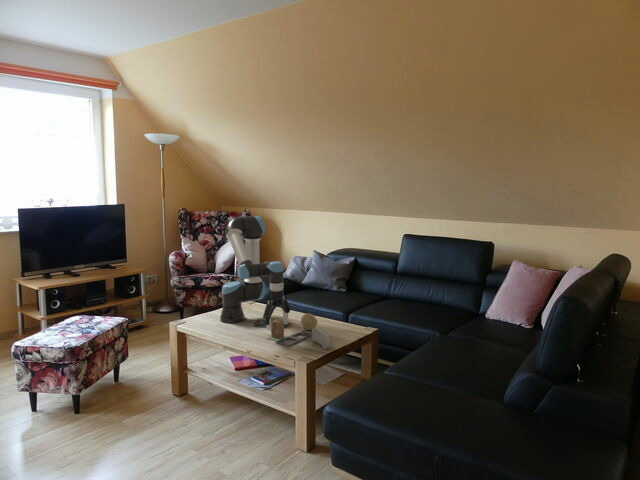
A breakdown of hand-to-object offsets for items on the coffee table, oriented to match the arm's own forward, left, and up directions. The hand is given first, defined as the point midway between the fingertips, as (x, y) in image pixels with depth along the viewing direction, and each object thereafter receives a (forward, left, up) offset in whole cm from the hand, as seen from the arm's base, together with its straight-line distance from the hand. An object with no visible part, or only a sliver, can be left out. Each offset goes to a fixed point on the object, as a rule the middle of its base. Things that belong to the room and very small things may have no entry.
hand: (277, 327), depth 269 cm
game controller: (+26, +6, -7) cm, 27 cm away
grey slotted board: (+10, +4, -6) cm, 12 cm away
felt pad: (0, 0, -6) cm, 6 cm away
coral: (+5, +22, -7) cm, 24 cm away
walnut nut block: (0, 0, -6) cm, 6 cm away
